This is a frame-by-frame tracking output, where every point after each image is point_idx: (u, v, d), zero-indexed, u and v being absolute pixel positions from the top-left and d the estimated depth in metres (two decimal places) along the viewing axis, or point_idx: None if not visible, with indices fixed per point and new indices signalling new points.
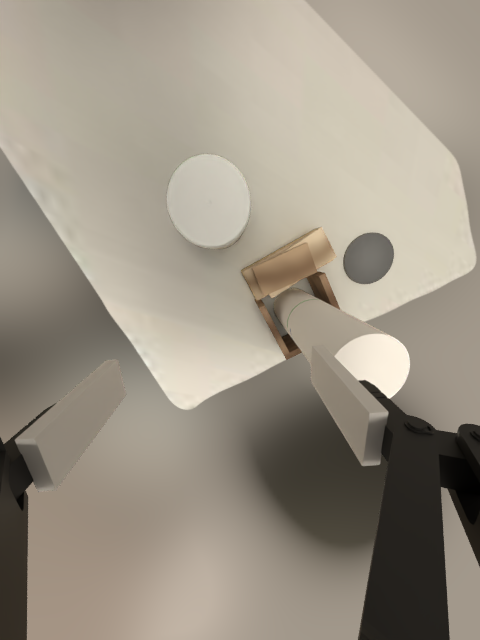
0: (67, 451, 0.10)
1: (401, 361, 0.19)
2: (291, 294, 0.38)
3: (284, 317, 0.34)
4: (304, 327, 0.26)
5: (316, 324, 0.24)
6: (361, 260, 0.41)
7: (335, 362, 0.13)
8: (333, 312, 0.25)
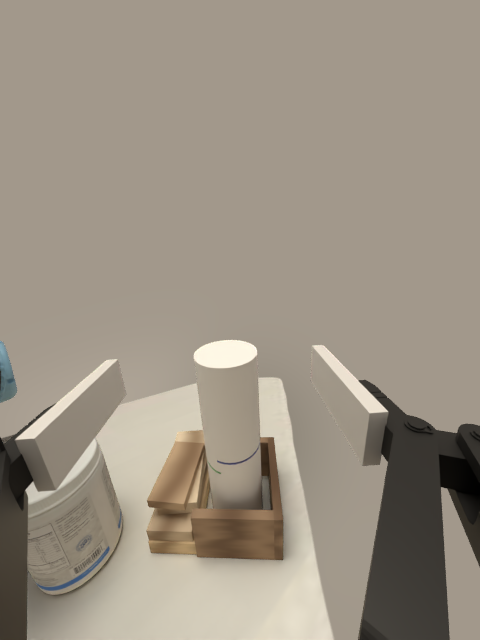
0: (67, 451, 0.10)
1: (231, 342, 0.28)
2: None
3: (216, 482, 0.27)
4: (204, 423, 0.26)
5: None
6: None
7: (335, 362, 0.13)
8: None
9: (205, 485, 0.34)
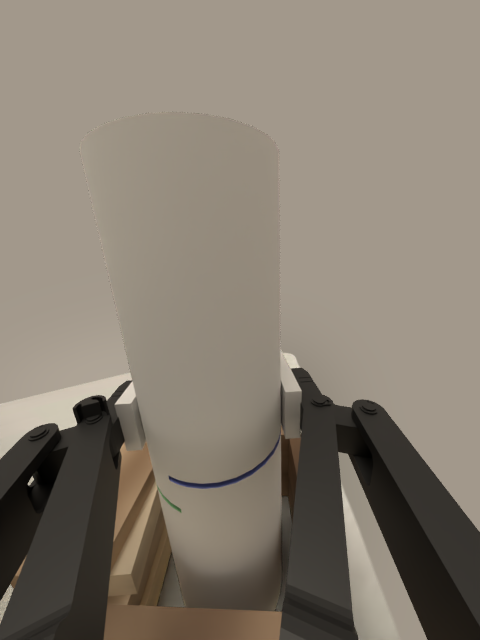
0: None
1: None
2: None
3: (173, 529, 0.11)
4: None
5: None
6: None
7: None
8: None
9: None
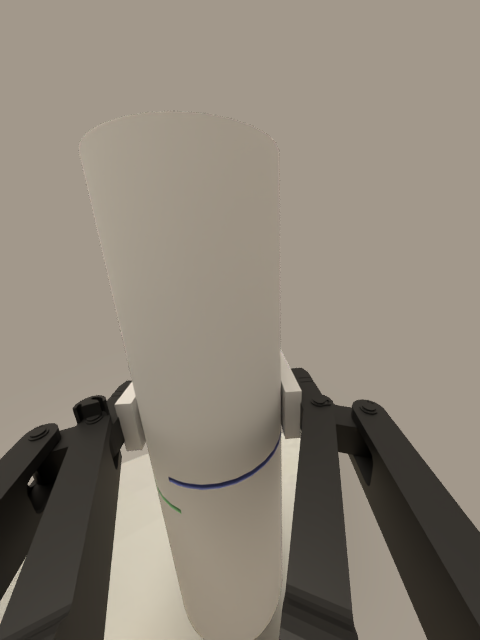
0: None
1: None
2: None
3: (173, 530, 0.11)
4: (130, 373, 0.09)
5: None
6: None
7: None
8: None
9: None
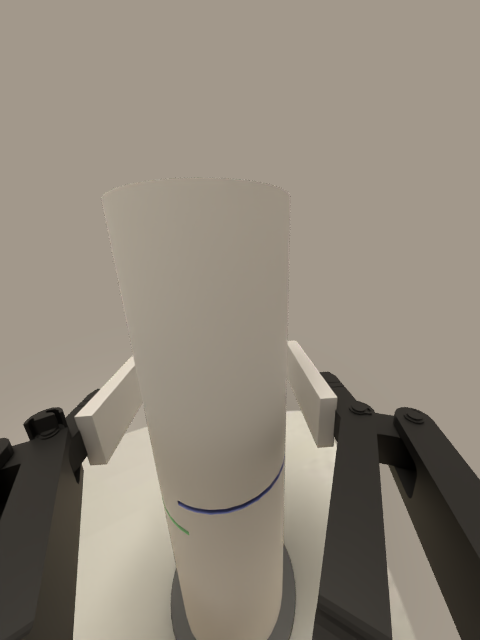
0: (113, 430, 0.11)
1: None
2: None
3: (179, 549, 0.11)
4: None
5: None
6: None
7: (302, 355, 0.14)
8: None
9: None
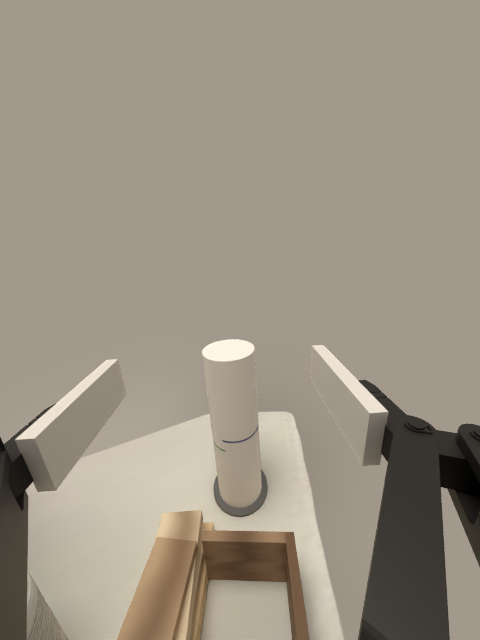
0: (67, 451, 0.10)
1: (232, 341, 0.33)
2: None
3: (221, 459, 0.33)
4: (210, 408, 0.31)
5: (207, 392, 0.31)
6: None
7: (335, 362, 0.13)
8: None
9: (198, 609, 0.24)
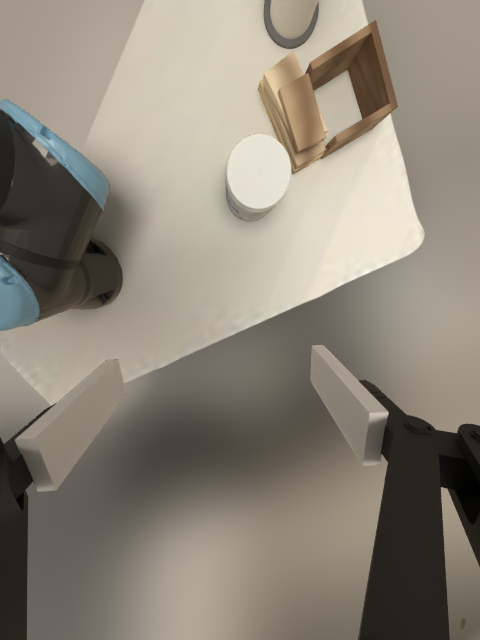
0: (67, 451, 0.10)
1: None
2: None
3: None
4: None
5: None
6: None
7: (335, 362, 0.13)
8: None
9: None
